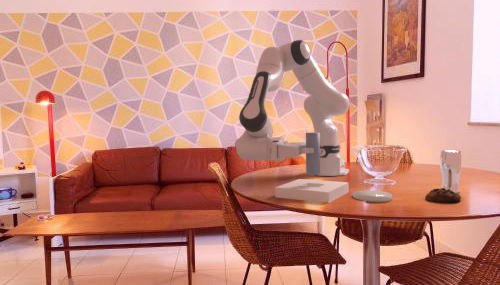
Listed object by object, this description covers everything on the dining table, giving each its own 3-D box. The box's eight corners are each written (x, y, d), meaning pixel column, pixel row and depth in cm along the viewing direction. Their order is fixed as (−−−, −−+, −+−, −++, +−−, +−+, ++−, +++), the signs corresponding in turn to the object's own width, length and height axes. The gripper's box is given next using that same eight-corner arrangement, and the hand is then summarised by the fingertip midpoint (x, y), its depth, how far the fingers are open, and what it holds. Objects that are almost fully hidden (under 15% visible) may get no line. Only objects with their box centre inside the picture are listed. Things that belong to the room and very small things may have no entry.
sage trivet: (359, 193, 149) (359, 189, 149) (395, 196, 142) (395, 192, 142) (347, 200, 138) (347, 195, 138) (386, 204, 131) (386, 199, 131)
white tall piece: (444, 189, 154) (444, 149, 153) (463, 191, 149) (464, 150, 148) (436, 191, 149) (437, 151, 148) (457, 194, 144) (457, 152, 143)
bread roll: (444, 204, 129) (443, 189, 129) (417, 202, 139) (416, 188, 139) (469, 202, 133) (468, 187, 133) (441, 200, 143) (440, 186, 143)
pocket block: (299, 188, 160) (299, 178, 160) (348, 193, 150) (348, 182, 150) (275, 198, 144) (275, 187, 143) (328, 204, 133) (328, 192, 133)
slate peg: (309, 172, 149) (309, 132, 148) (322, 173, 147) (321, 132, 146) (303, 174, 145) (303, 133, 144) (316, 175, 143) (316, 133, 141)
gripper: (284, 154, 159) (319, 155, 155) (271, 161, 140) (311, 161, 136) (283, 138, 159) (319, 138, 155) (271, 142, 139) (311, 142, 135)
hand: (315, 149), depth 145 cm, fingers closed on slate peg, 5 cm apart
